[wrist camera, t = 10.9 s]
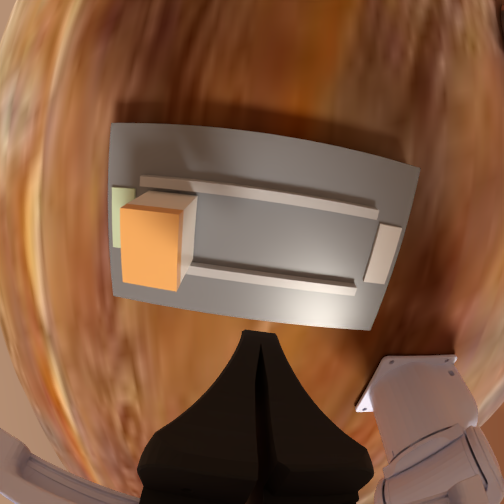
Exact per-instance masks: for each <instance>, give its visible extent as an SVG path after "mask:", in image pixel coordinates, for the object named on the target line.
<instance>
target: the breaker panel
mask: <svg viewBox="0 0 504 504" xmlns="http://www.w3.org/2000/svg"><path fill="white" fill-rule="evenodd" d="M419 173H420V168H418V167H415V166H412V165H409V164H405V163H402V162H398V161H395V160H391V159H388V158H384V157H380V156H376V155H372V154H368V153H364V152H360V151H356V150H352V149H348V148H343V147H339V146H334V145H329V144H324V143H319V142H314V141H309V140H304V139H298V138H292V137H286V136H280V135H274V134H267V133H260V132H252V131H245V130H236V129H227V128H217V127H206V126H193V125H177V124H155V123H111V133H110V147H109V167H108V229H109V250H110V265H111V277H112V287H113V296H117V297H122V298H127V299H132V300H137V301H142V302H147V303H152V304H158V305H163V306H169V307H175V308H180V309H186V310H193V311H199V312H205V313H212V314H218V315H225V316H232V317H239V318H247V319H254V320H262V321H271V322H279V323H288V324H298V325H308V326H318V327H330V328H342V329H356V330H371V328H372V325H373V323H374V320H375V318H376V315H377V313H378V310H379V308H380V305H381V302H382V300H383V297H384V294H385V292H386V289H387V286H388V283H389V280H390V278H391V275H392V272H393V269H394V266H395V263H396V260H397V256H398V253H399V250H400V247H401V244H402V240H403V237H404V233H405V230H406V226H407V223H408V219H409V215H410V211H411V208H412V204H413V200H414V195H415V191H416V187H417V182H418V178H419ZM147 191H159V192H169V193H178V194H187V195H196V196H198V198H197V210H196V222H195V236H194V251H193V260H192V262H191V264H190V266H189V268H188V270H187V272H186V274H185V276H184V278H183V280H182V282H181V284H180V286H179V288H178V290H177V292H176V291H170V290H164V289H158V288H152V287H147V286H141V285H136V284H130V283H125V282H123V278H122V263H121V241H120V208H121V207H122V206H124V205H125V204H127V203H129V202H130V201H132V200H134V199H135V198H137V197H139V196H141V195H142V194H144V193H146V192H147Z"/></svg>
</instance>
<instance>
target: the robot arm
mask: <svg viewBox="0 0 504 504" xmlns="http://www.w3.org/2000/svg"><path fill="white" fill-rule="evenodd" d="M456 359H457V357H456V355H431V356H385V357H384V358H383V359H382V360H381V362H380V364H379V366H378V368H377V370H376V372H375V374H374V375H373V377H372V379H371V381H370V383H369V385H368V386H367V388H366V390H365V392H364V393H363V395H362V397H361V399H360V400H359V402H358V404H357V405H356V407H355V410H356V411H357V412H371V411H373V412H374V415H375V418H376V422H377V425H378V428H379V432H380V435H381V439H382V442H383V446H384V449H385V453H386V456H387V460H388V464H389V465H387V466H386V467H384V468H383V473H384V478H382V479H381V480H380V481H379V482H378V484H377V487H376V490H375V495H374V503H375V504H500V502H501V501H502V499H503V497H504V480H503V477H502V475H501V470H500V468H499V464H498V462H497V459H496V457H495V455H494V453H493V451H492V449H491V446H490V445H489V443H488V441H487V439H486V437H485V435H484V433H483V432H482V430H481V429H480V427H476V425H477V421H478V409H477V404H476V401H475V399H474V397H473V396H472V394H471V392H470V390H469V389H468V387H467V385H466V384H465V382H464V380H463V379H462V377H461V375H460V374H459V372H458V371H457V369H456V367H455V366H454V363H455V361H456ZM137 473H138V475H139V477H140V479H141V481H142V484H143V486H144V487H143V490H142V494H141V498H137V497H134V496H130V495H127V494H124V493H121V492H118V491H115V490H112V489H109V488H106V487H104V486H101V485H98V484H96V483H93V482H91V481H88V480H86V479H83V478H81V477H79V476H76V475H74V474H72V473H70V472H67V471H65V470H63V469H61V468H59V467H57V466H55V465H53V464H51V463H49V462H47V461H45V460H43V459H41V458H39V457H38V456H36V455H34V454H32V453H31V452H30V450H29V449H28V447H27V446H26V445H25V444H24V443H22V442H21V441H20V440H18V439H17V438H15V437H13V436H12V435H10V434H9V433H7V432H6V431H4V430H3V429H1V428H0V493H1V494H2V495H3V496H5V497H6V498H7V499H9V500H10V501H12V502H13V503H15V504H356V502H357V501H359V496H358V491H359V490H360V489H361V488H362V487H364V486H365V485H366V484H367V483H368V482H369V481H370V480H371V479H372V477H373V476H374V470H373V465H372V462H371V459H370V456H369V454H368V451H367V449H366V448H365V447H363V446H362V445H360V444H359V443H358V442H356V441H355V440H353V439H352V438H350V437H349V436H348V435H346V434H345V433H344V432H343V431H342V430H341V429H339V428H338V427H337V426H336V425H335V424H334V423H333V422H332V421H331V420H330V419H329V418H328V417H327V416H326V415H325V414H324V413H323V412H322V411H321V410H320V409H319V408H318V406H317V405H316V404H315V403H314V402H313V400H312V399H311V398H310V396H309V395H308V394H307V392H306V391H305V390H304V388H303V387H302V385H301V384H300V382H299V380H298V379H297V377H296V375H295V374H294V372H293V370H292V368H291V366H290V365H289V363H288V361H287V359H286V357H285V355H284V352H283V350H282V348H281V346H280V343H279V340H278V338H277V335H276V334H275V333H267V332H259V331H251V330H244V331H242V335H241V339H240V341H239V344H238V346H237V348H236V350H235V352H234V354H233V356H232V357H231V359H230V361H229V362H228V364H227V366H226V367H225V368H224V370H223V371H222V373H221V374H220V376H219V377H218V378H217V379H216V381H215V382H214V383H213V384H212V386H211V387H210V388H209V389H208V390H207V391H206V392H205V393H204V394H203V395H202V396H201V397H200V398H199V399H198V400H197V401H196V402H195V403H194V404H193V405H192V406H191V407H190V408H189V409H187V410H186V411H185V412H184V413H182V414H181V415H180V416H179V417H177V418H176V419H175V420H173V421H172V422H170V423H169V424H167V425H166V426H164V427H163V428H161V429H160V430H158V431H157V432H155V434H154V435H153V437H152V438H151V439H150V441H149V442H148V444H147V445H146V447H145V449H144V451H143V453H142V455H141V458H140V461H139V464H138V467H137Z"/></svg>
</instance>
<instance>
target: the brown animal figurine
mask: <svg viewBox="0 0 504 504" xmlns="http://www.w3.org/2000/svg"><path fill="white" fill-rule="evenodd" d="M501 22H502V31H503V35H504V4H503V5H502V7H501Z"/></svg>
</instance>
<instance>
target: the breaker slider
mask: <svg viewBox="0 0 504 504" xmlns="http://www.w3.org/2000/svg"><path fill="white" fill-rule="evenodd" d="M197 198H198V196H196V195H187V194H178V193H169V192H159V191H147V192H146V193H144V194H142V195H141V196H139V197H137V198H135V199H134V200H132V201H130V202H129V203H127V204H125V205H124V206H122V207H121V208H120V241H121V263H122V278H123V282H125V283H130V284H136V285H141V286H147V287H152V288H158V289H164V290H170V291H176V292H177V290H178V288H179V286H180V284H181V282H182V280H183V278H184V276H185V274H186V272H187V270H188V268H189V266H190V264H191V262H192V260H193V251H194V236H195V222H196V210H197Z"/></svg>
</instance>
